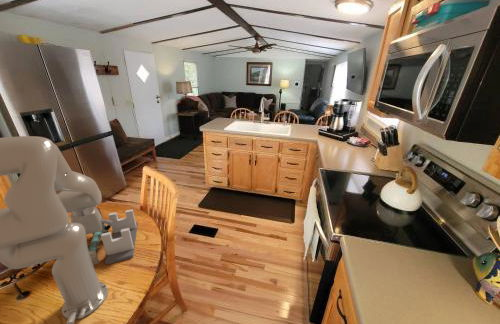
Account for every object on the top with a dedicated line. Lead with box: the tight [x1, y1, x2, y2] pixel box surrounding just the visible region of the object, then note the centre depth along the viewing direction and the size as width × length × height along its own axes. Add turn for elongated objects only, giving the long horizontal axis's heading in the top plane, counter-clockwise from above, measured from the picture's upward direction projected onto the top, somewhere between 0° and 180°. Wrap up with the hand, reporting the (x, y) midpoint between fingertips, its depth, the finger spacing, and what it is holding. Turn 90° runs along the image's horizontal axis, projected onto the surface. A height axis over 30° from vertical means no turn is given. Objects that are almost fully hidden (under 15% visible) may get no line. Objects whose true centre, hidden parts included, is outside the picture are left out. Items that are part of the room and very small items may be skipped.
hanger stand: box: [100, 208, 138, 265], centre depth 95 cm, size 24×10×12 cm, turn 23°
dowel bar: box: [88, 223, 107, 266], centre depth 92 cm, size 20×6×6 cm, turn 23°
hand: (94, 240), depth 92 cm, fingers open, 9 cm apart
